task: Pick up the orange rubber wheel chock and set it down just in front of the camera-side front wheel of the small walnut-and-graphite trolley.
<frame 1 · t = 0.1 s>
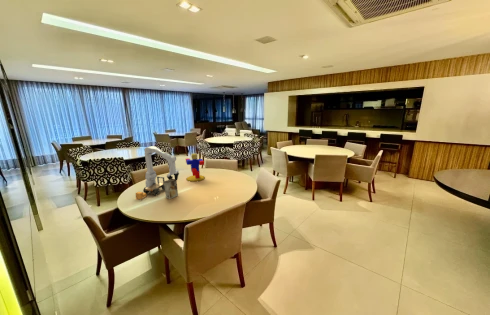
hand: (173, 181, 190), 10 cm above the table, fingers open, 7 cm apart
figurine: (195, 178, 227), on the table
coffee box: (171, 196, 179), on the table
chock: (141, 197, 178), on the table
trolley: (156, 191, 191), on the table
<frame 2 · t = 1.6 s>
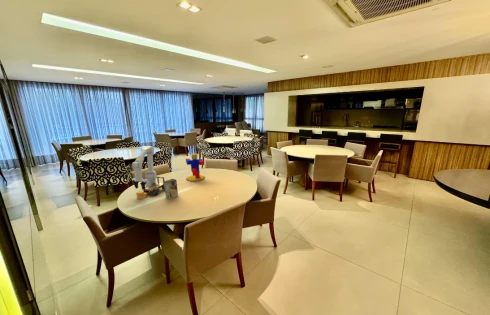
hand: (140, 188, 176), 8 cm above the table, fingers open, 7 cm apart
nothing on the table moved.
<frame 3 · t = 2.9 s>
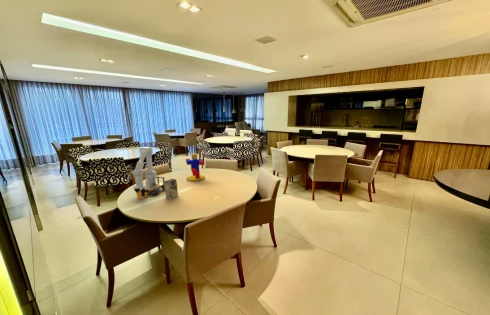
hand: (141, 195, 177), 2 cm above the table, fingers closed on chock, 5 cm apart
chock: (142, 196, 179), on the table, touching gripper
everything else where it was.
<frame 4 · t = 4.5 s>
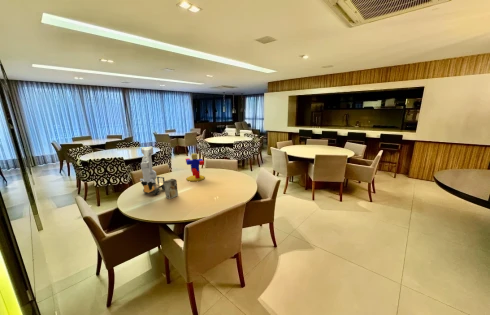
hand: (148, 189, 173), 9 cm above the table, fingers closed on chock, 5 cm apart
chock: (149, 190, 175), point 7 cm above the table, touching gripper
everything else where it was.
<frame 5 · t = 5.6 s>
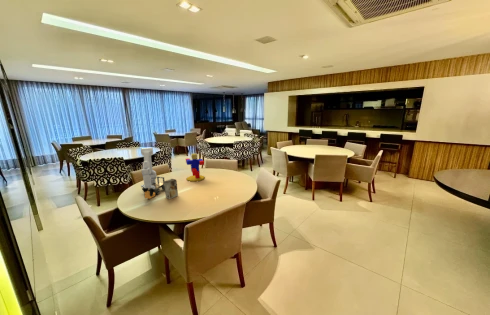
hand: (149, 195, 175), 3 cm above the table, fingers closed on chock, 5 cm apart
chock: (150, 196, 176), point 1 cm above the table, touching gripper
everything else where it was.
when the fingers open (3 cm above the table, at t = 6.2 s): chock stays where it is, on the table.
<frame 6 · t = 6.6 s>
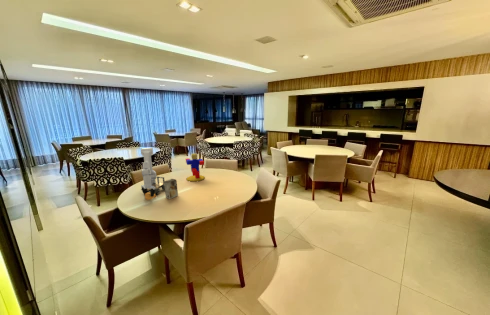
hand: (149, 195, 175), 3 cm above the table, fingers open, 7 cm apart
chock: (150, 198, 177), on the table
everything else where it was.
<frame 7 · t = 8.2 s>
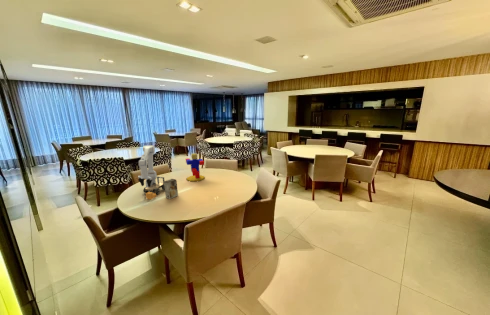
hand: (146, 186, 180), 9 cm above the table, fingers open, 7 cm apart
nothing on the table moved.
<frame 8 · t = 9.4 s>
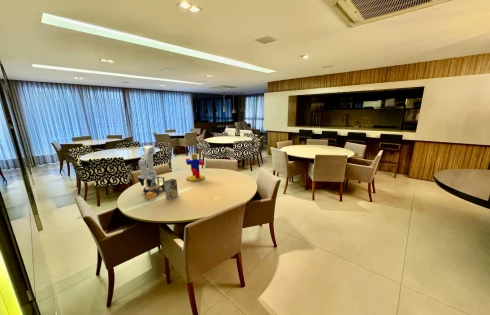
hand: (146, 186, 180), 9 cm above the table, fingers open, 7 cm apart
chock: (151, 197, 178), on the table, touching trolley
everything else where it was.
at the end: chock 2.0 cm from the target spot, on the table; chock tilted 0°; the gripper is holding nothing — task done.
